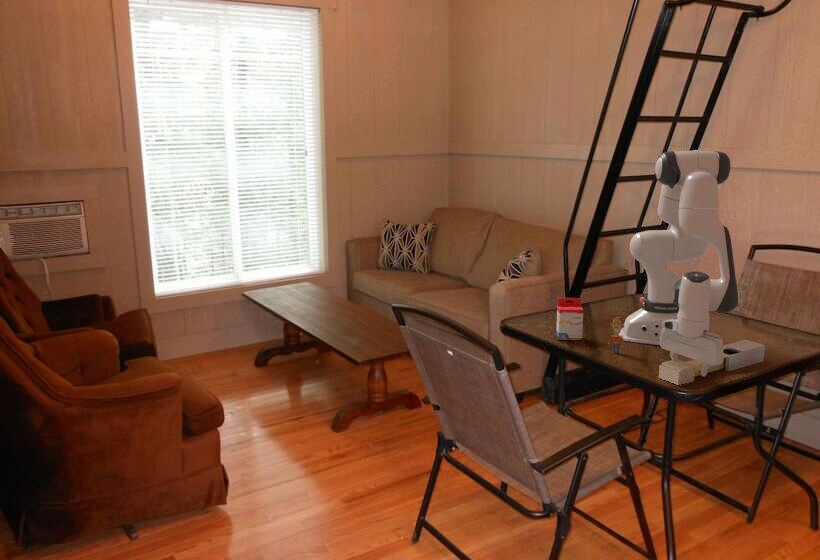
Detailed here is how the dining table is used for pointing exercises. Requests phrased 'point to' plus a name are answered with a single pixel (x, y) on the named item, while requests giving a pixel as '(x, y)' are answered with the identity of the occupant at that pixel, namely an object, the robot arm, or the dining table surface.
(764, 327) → the dining table surface
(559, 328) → the ink box
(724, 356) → the tan block
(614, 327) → the toy
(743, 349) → the sleeve and socket
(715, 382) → the dining table surface
